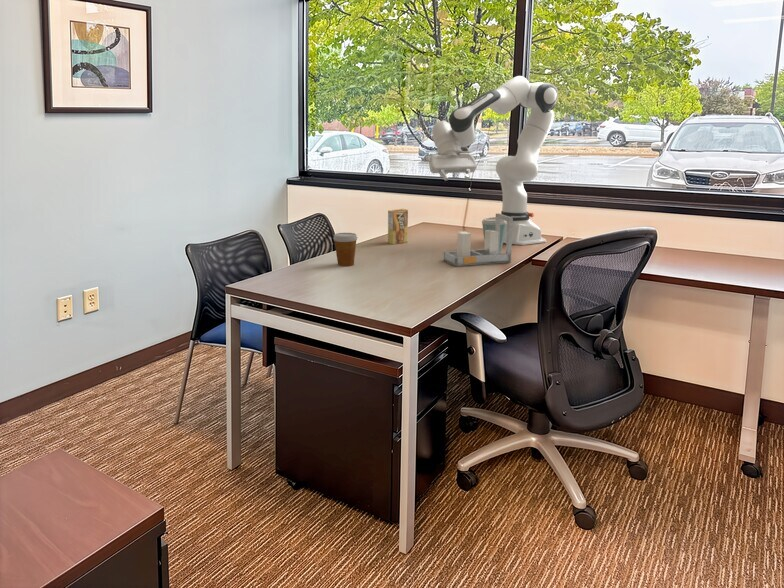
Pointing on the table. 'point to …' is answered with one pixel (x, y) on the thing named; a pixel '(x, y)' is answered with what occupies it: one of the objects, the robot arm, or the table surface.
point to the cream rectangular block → (463, 244)
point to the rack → (486, 248)
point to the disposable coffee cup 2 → (490, 225)
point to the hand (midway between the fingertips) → (457, 179)
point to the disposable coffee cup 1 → (345, 248)
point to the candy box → (397, 226)
